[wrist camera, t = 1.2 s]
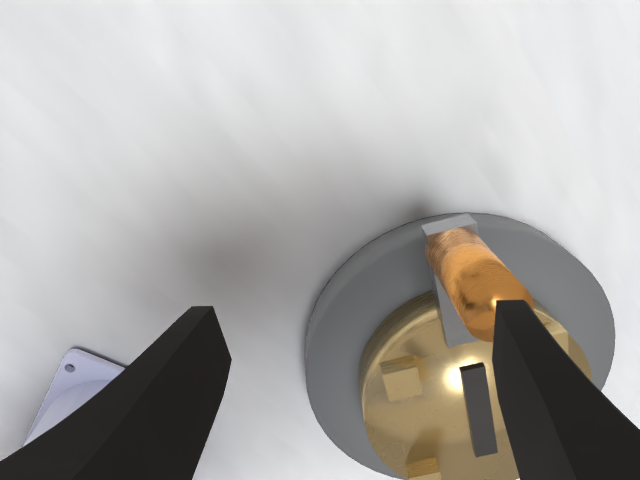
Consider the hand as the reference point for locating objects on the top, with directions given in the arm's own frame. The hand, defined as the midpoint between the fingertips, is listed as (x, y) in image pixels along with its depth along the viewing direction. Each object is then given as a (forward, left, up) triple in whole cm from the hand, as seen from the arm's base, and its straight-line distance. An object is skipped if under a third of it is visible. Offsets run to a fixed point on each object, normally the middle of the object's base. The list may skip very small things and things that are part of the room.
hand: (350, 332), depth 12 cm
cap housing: (-4, -10, -10) cm, 14 cm away
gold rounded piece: (-2, -8, -8) cm, 12 cm away
